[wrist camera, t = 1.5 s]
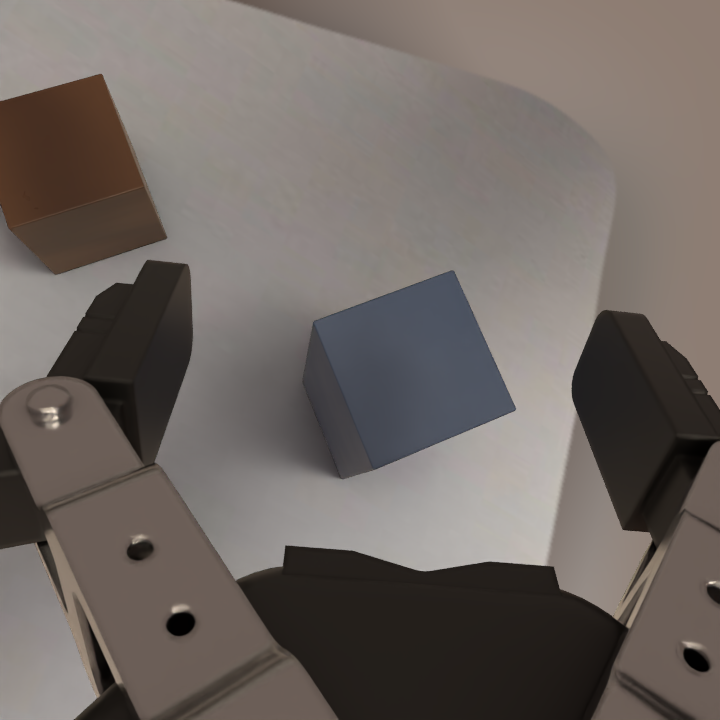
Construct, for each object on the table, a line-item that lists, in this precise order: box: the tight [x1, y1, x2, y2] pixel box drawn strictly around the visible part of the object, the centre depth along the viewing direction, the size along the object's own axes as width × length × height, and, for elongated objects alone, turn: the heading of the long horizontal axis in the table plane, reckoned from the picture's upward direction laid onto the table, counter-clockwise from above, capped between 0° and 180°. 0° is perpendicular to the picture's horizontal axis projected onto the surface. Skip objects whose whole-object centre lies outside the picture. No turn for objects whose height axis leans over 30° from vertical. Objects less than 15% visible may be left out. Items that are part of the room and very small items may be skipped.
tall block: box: [302, 271, 516, 479], centre depth 24 cm, size 5×5×10 cm
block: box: [0, 74, 167, 274], centre depth 27 cm, size 5×5×5 cm
